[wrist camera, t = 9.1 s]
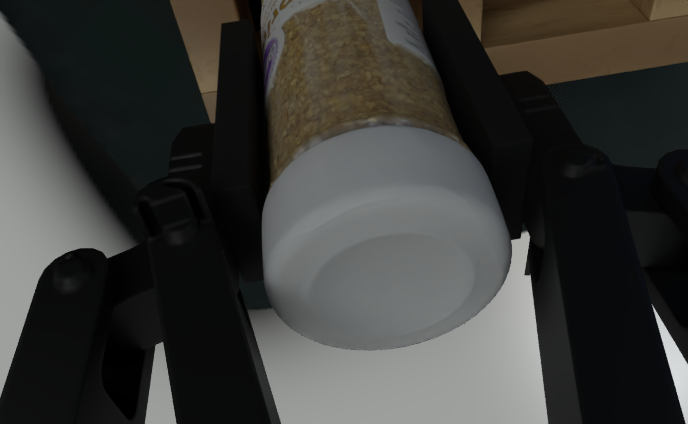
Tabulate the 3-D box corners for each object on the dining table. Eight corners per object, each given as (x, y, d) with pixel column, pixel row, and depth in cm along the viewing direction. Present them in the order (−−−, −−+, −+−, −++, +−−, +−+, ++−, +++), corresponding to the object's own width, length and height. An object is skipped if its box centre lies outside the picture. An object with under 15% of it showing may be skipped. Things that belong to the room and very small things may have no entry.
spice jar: (246, -94, 19) (243, 214, 9) (393, -106, 19) (542, 180, 9) (266, 42, 22) (279, 373, 12) (391, 30, 22) (500, 346, 13)
